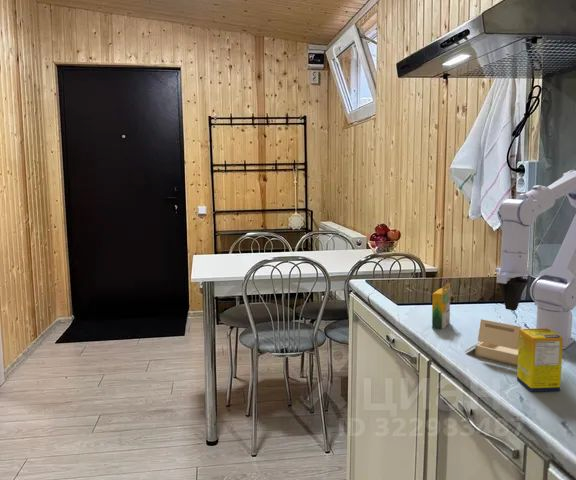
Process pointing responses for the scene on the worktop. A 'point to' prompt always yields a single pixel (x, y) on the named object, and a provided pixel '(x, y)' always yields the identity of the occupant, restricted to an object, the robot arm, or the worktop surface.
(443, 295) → the crayon box
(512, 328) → the flap
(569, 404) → the worktop surface
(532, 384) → the supplement box
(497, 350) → the carton
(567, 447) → the worktop surface
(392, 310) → the worktop surface
